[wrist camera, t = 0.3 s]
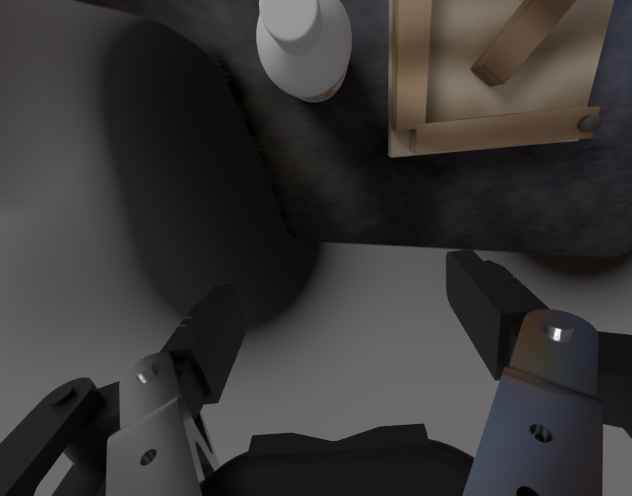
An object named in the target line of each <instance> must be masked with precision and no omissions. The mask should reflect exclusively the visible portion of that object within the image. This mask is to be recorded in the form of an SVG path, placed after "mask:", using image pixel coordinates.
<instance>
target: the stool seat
mask: <svg viewBox="0 0 632 496" xmlns="http://www.w3.org/2000/svg"><path fill="white" fill-rule="evenodd" d="M523 1H524V0H389V99H388V156H390V157H391V158H392V157H403V156H414V155H425V154H436V153H447V152H459V151H470V150H481V149H492V148H503V147H514V146H525V145H536V144H548V143H559V142H570V141H578V140H579V139H584V138H592V136H593V133H594V131H595V130H597V129H598V128H599V127H600V125H601V123H602V119H601V117H600V116H598V114H599V111H600V107H601V106H599V107H587V105H588V101H589V97H590V93H591V89H592V86H593V82H594V78H595V74H596V70H597V66H598V62H599V58H600V55H601V51H602V47H603V43H604V39H605V35H606V31H607V27H608V23H609V20H610V16H611V12H612V8H613V4H614V0H576V1H575V3H574V4H573V5H572V6H571V7H570V9H569V10H568V11H567V12H566V13H565V14H564V16H563V17H562V18H561V19H560V20H559V21H558V23H557V24H556V25H555V26H554V27H553V28H552V30H551V31H550V32H549V33H548V34H547V35H546V37H545V38H544V39H543V40H542V41H541V42H540V44H539V45H538V46H537V47H536V48H535V49H534V51H533V52H532V53H531V54H530V55H529V57H528V58H527V59H526V60H525V61H524V62H523V64H522V65H521V66H520V67H519V68H518V69H517V71H516V72H515V73H514V74H513V75H512V76H511V78H510V79H509V80H508V81H507V82H506V83H505V84H502V85H496V86H491V87H489V86H488V85H487V84H486V83H485V82H484V81H483V80H482V79H480V78H479V77H478V76H477V75H476V74H475V73H474V72H473V71H472V70H471V69H470V68H471V67H472V66H473V64H474V63H475V62H476V60H477V59H478V58H479V57H480V55H481V54H482V53H483V52H484V50H485V49H486V48H487V47H488V45H489V44H490V43H491V42H492V40H493V39H494V38H495V36H496V35H497V34H498V33H499V31H500V30H501V29H502V28H503V26H504V25H505V24H506V23H507V21H508V20H509V19H510V17H511V16H512V15H513V14H514V12H515V11H516V10H517V9H518V7H519V6H520V5H521V4H522V2H523Z"/></svg>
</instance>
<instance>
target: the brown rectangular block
mask: <svg viewBox="0 0 632 496" xmlns="http://www.w3.org/2000/svg"><path fill="white" fill-rule="evenodd" d="M575 1H576V0H524V1H523V2H522V4H521V5H520V6H519V7H518V9H517V10H516V11H515V12H514V14H513V15H512V16H511V17H510V19H509V20H508V21H507V23H506V24H505V25H504V26H503V28H502V29H501V30H500V31H499V33H498V34H497V35H496V36H495V38H494V39H493V40H492V42H491V43H490V44H489V45H488V47H487V48H486V49H485V50H484V52H483V53H482V54H481V55H480V57H479V58H478V59H477V60H476V62H475V63H474V64H473V66H472V67H471V68H470V69H471V70H472V71H473V72H474V73H475V74H476V75H477V76H478V77H479V78H480V79H482V80H483V81H484V82H485V83H486V84H487V85H488V86H489V87H491V86H496V85H502V84H505V83H506V82H507V81H508V80H509V79H510V78H511V76H512V75H513V74H514V73H515V72H516V71H517V69H518V68H519V67H520V66H521V65H522V64H523V62H524V61H525V60H526V59H527V58H528V57H529V55H530V54H531V53H532V52H533V51H534V49H535V48H536V47H537V46H538V45H539V44H540V42H541V41H542V40H543V39H544V38H545V37H546V35H547V34H548V33H549V32H550V31H551V30H552V28H553V27H554V26H555V25H556V24H557V23H558V21H559V20H560V19H561V18H562V17H563V16H564V14H565V13H566V12H567V11H568V10H569V9H570V7H571V6H572V5H573V4H574V3H575Z"/></svg>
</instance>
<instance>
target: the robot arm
mask: <svg viewBox="0 0 632 496" xmlns="http://www.w3.org/2000/svg"><path fill="white" fill-rule="evenodd" d="M446 291H447V297H448V300H449V303H450V305H451V307H452V309H453V310H454V312H455V314H456V316H457V317H458V319H459V321H460V322H461V324H462V326H463V327H464V329H465V331H466V333H467V334H468V336H469V338H470V339H471V341H472V342H473V344H474V346H475V348H476V349H477V351H478V353H479V354H480V356H481V358H482V359H483V361H484V363H485V364H486V366H487V368H488V370H489V371H490V373H491V375H492V376H493V378H494V379H495V380H500V382H499V385H498V388H497V391H496V394H495V397H494V400H493V404H492V406H491V410H490V412H489V416H488V419H487V422H486V425H485V428H484V431H483V434H482V437H481V440H480V443H479V446H478V449H477V452H476V456H475V458H474V457H472V456H470V455H469V454H467V453H465V452H463V451H461V450H459V449H457V448H455V447H453V446H450V445H448V444H445V443H442V442H439V441H435V440H431V439H428V436H427V432H426V429H425V425H424V424H411V425H397V426H383V427H377V428H374V429H371V430H368V431H365V432H362V433H359V434H356V435H353V436H351V437H348V438H345V439H342V440H339V441H328V440H324V439H319V438H314V437H310V436H305V435H301V434H296V433H280V434H267V435H266V434H265V435H253V436H252V439H251V443H250V447H249V451H247V452H245V453H243V454H241V455H239V456H236V457H234V458H233V459H231V460H229V461H228V462H226V463H225V464H223V465H222V466H221V467H220V465H219V463H218V460H217V457H216V454H215V451H214V448H213V446H212V442H211V439H210V437H209V433H208V430H207V427H206V424H205V421H204V419H203V416H202V414H201V413H200V411H201V409H202V407H203V404H214V403H218V402H219V399H220V397H221V394H222V391H223V389H224V387H225V384H226V382H227V379H228V377H229V374H230V372H231V369H232V366H233V364H234V361H235V359H236V356H237V354H238V351H239V349H240V346H241V344H242V341H243V339H244V336H245V334H246V331H247V328H248V317H247V313H246V310H245V307H244V305H243V302H242V299H241V296H240V294H239V291H238V288H237V286H236V284H235V283H233V282H231V283H224V284H217V285H214V286H213V287H212V288H211V289H210V291H209V292H208V294H207V295H206V297H205V298H204V299H202V300H201V301H199V302H198V303H197V304H196V305H194V306H193V307H192V308H191V310H190V311H189V312H188V314H187V315H186V316H185V319H183V321H182V322H181V323H180V326H179V327H178V328H177V329H176V330H175V332H174V333H173V334H172V336H171V337H170V339H169V340H168V342H167V343H166V344H165V346H164V347H163V348H162V350H161V351H160V352H159V353H154V354H151V355H148V356H146V357H144V358H142V359H140V360H139V361H137V362H136V363H134V364H133V365H132V366H131V367H130V368H128V369H127V371H126V372H125V373H124V374H123V376H122V377H121V379H120V381H118V382H116V383H113V384H110V385H107V386H104V387H102V388H98V389H97V387H96V386H95V384H94V383H93V382H92V380H90V379H89V378H78V379H75V380H72V381H70V382H67V383H66V384H63V385H62V386H60V387H58V388H57V389H55V390H54V391H52V392H51V393H50V394H48V395H47V396H46V397H45V398H44V399H43V400H42V401H41V402H40V403H39V404H38V405H37V406H36V407H35V408H34V409H33V410H32V411H31V412H30V413H29V414H28V415H27V416H26V417H25V419H23V420H22V422H21V423H20V424H19V425H18V426H17V427H16V428H15V429H14V430H13V431H12V432H11V433H10V434H9V435H8V436H7V437H6V438H5V439H4V440H3V442H1V443H0V496H34V493H35V490H36V488H37V486H38V485H39V483H40V482H41V480H42V479H43V477H44V476H45V475H46V474H47V472H48V471H49V470H50V468H51V467H52V466H53V464H54V463H55V461H56V460H57V459H58V458H59V456H60V455H61V454H62V452H64V454H65V455H66V456H67V457H68V458H69V459H70V460H71V461H72V463H73V465H72V467H71V468H70V470H69V471H68V473H67V474H66V476H65V477H64V479H63V480H62V482H61V483H60V484H59V486H58V487H57V489H56V490H55V492H54V493H53V495H52V496H602V479H603V476H602V474H603V472H602V471H603V424H606V425H611V426H616V427H621V428H623V429H624V430H625V431H626V432H627V433H628V434H629V436H630V437H631V438H632V335H627V334H617V333H607V332H599V331H597V330H596V329H595V328H594V327H593V326H592V325H591V324H590V323H589V322H587V321H586V320H584V319H582V318H581V317H578V316H576V315H574V314H571V313H568V312H564V311H560V310H553V309H549V308H548V307H547V306H546V305H545V304H544V303H543V302H542V301H540V300H539V299H538V298H537V297H536V296H535V295H534V294H533V293H532V292H531V291H529V290H528V288H526V287H525V286H524V285H522V284H521V282H520V281H519V280H518V279H517V278H515V277H513V275H512V274H511V273H510V272H509V271H508V270H507V269H506V268H505V267H503V266H501V265H499V264H496V263H494V262H492V261H490V260H488V261H483V260H482V259H481V258H480V257H479V256H478V255H477V254H476V253H475V252H474V251H473V250H471V249H466V250H459V251H452V252H448V253H447V256H446Z"/></svg>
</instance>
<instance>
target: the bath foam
mask: <svg viewBox="0 0 632 496" xmlns="http://www.w3.org/2000/svg"><path fill="white" fill-rule="evenodd" d="M259 8H260V16H259V19H258V24H257V48H258V53H259V57H260V60H261V63H262V65H263V67H264V69H265V71H266V73H267V74H268V76H269V77H270V79H271V80H272V81H273V82H274V84H275V85H276V86H278V87H279V88H280V89H281V90H283V91H284V92H286V93H288V94H290V95H292V96H295V97H297V98H299V99H301V100H304V101H307V102H321V101H324V100H327V99H328V98H330V97H331V96H333V95H334V94H335V93H336V92H337V91H338V89H339V88H340V86H341V85H342V83H343V80H344V78H345V75H346V71H347V68H348V64H349V61H350V57H351V52H352V30H351V25H350V22H349V18H348V15H347V13H346V10H345V8H344V7H343V5H342V3H341V2H340V0H260V1H259Z"/></svg>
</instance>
